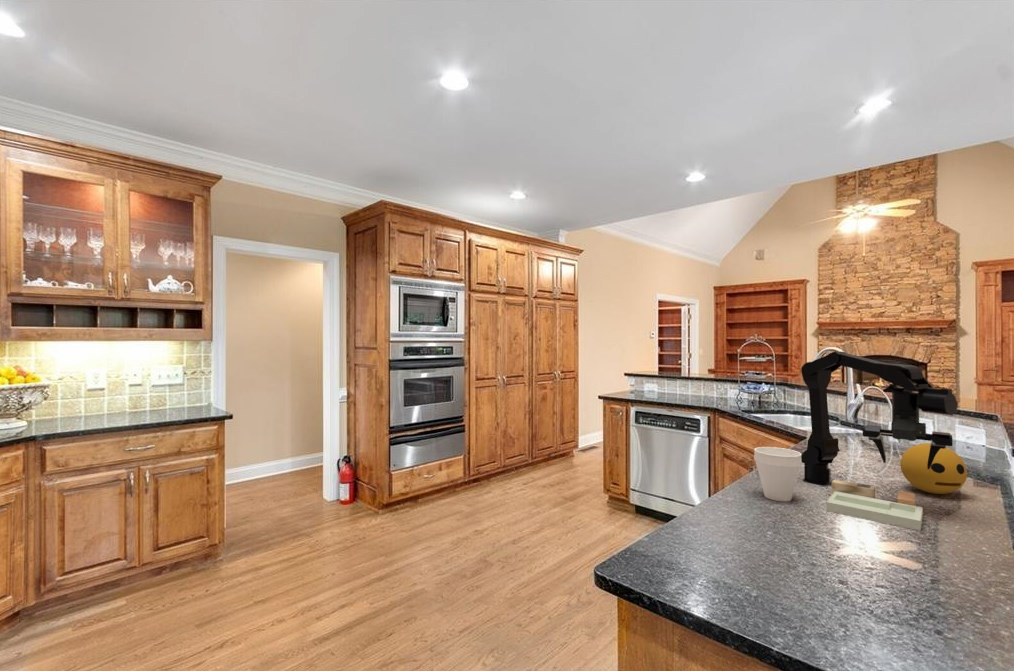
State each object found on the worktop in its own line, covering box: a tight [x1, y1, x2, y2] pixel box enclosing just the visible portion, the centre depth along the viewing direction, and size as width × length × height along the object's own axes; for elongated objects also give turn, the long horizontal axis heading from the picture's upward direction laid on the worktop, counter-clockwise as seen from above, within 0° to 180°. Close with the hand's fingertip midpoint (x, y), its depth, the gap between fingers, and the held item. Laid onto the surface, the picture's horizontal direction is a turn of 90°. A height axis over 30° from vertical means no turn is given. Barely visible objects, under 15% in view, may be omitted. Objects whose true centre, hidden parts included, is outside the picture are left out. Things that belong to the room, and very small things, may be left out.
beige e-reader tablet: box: [831, 479, 876, 499], centre depth 136 cm, size 10×4×4 cm, turn 46°
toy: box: [899, 442, 968, 495], centre depth 140 cm, size 15×15×15 cm
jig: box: [826, 491, 924, 532], centre depth 122 cm, size 19×13×2 cm
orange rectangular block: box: [897, 490, 916, 506], centre depth 127 cm, size 4×9×4 cm, turn 139°
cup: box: [753, 446, 803, 502], centre depth 135 cm, size 12×12×14 cm
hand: (906, 465), depth 127 cm, fingers open, 9 cm apart
